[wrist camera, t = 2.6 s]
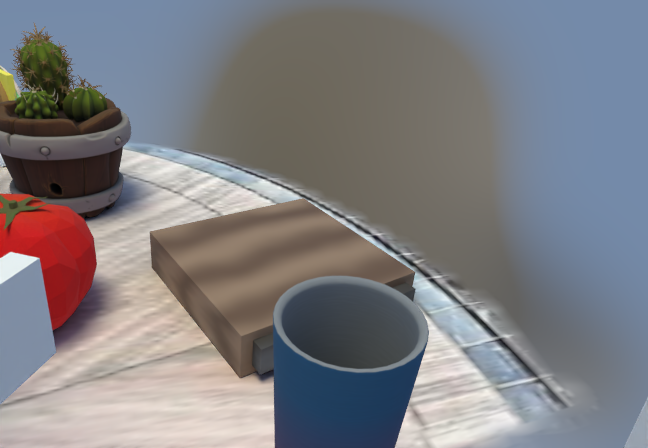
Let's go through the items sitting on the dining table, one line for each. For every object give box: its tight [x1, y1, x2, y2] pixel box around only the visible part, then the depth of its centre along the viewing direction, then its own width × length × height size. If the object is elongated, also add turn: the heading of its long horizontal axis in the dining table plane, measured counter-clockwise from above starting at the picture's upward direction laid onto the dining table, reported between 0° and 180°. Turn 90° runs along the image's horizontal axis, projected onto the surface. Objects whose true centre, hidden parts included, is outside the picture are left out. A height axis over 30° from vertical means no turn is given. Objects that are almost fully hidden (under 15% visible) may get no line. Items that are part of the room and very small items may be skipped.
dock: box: [150, 198, 415, 378], centre depth 50 cm, size 19×18×4 cm
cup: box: [273, 276, 429, 448], centre depth 26 cm, size 7×7×15 cm
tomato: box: [0, 194, 97, 330], centre depth 42 cm, size 11×13×10 cm
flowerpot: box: [0, 24, 131, 218], centre depth 58 cm, size 14×15×20 cm
